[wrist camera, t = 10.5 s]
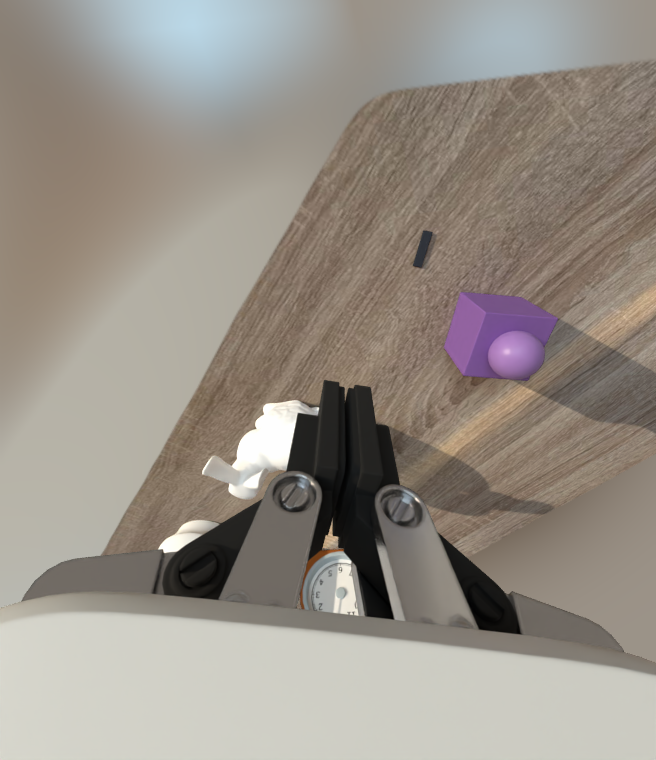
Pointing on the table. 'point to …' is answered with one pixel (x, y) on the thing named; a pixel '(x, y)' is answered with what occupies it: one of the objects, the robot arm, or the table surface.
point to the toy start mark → (422, 248)
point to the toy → (498, 336)
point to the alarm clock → (329, 584)
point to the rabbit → (260, 450)
